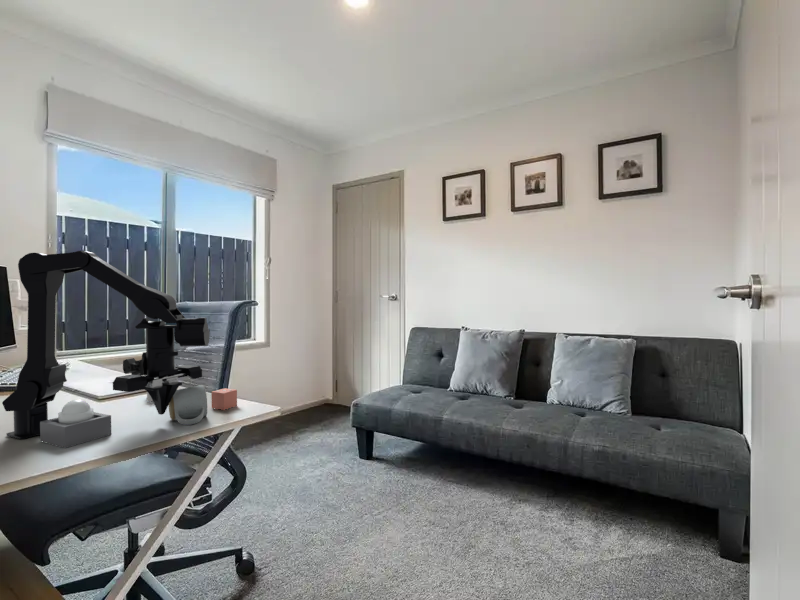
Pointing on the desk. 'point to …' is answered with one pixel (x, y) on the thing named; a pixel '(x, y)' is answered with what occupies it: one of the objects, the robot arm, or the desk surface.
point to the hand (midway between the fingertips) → (161, 414)
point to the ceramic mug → (188, 405)
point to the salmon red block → (224, 398)
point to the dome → (75, 412)
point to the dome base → (75, 430)
